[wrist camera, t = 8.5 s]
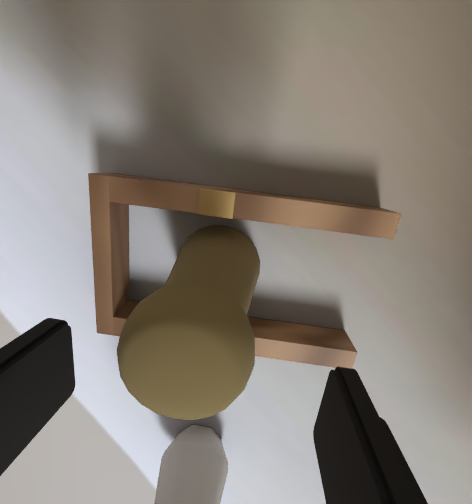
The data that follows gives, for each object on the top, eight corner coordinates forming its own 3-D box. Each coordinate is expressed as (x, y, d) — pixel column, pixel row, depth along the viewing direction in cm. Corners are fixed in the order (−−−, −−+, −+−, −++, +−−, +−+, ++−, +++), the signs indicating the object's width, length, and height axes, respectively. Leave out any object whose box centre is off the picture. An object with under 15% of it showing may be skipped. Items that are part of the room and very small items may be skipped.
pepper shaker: (264, 297, 19) (278, 445, 9) (187, 306, 20) (116, 452, 10) (254, 219, 18) (256, 288, 7) (170, 231, 18) (59, 310, 8)
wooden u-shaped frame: (380, 208, 17) (404, 214, 14) (340, 346, 20) (353, 373, 18) (110, 173, 17) (85, 173, 15) (114, 314, 21) (94, 335, 18)
